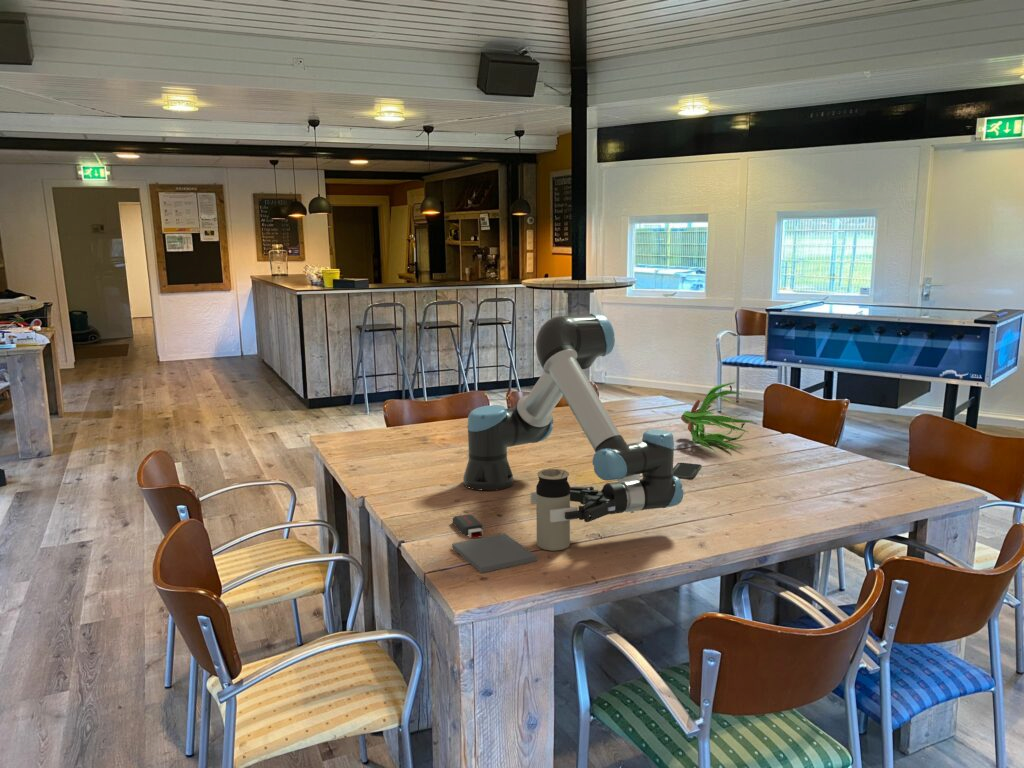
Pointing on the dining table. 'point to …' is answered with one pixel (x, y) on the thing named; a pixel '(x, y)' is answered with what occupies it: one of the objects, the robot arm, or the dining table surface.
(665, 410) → the dining table surface
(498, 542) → the charcoal mat
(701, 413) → the decorative plant
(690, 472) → the phone
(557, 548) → the travel mug
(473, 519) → the usb drive
